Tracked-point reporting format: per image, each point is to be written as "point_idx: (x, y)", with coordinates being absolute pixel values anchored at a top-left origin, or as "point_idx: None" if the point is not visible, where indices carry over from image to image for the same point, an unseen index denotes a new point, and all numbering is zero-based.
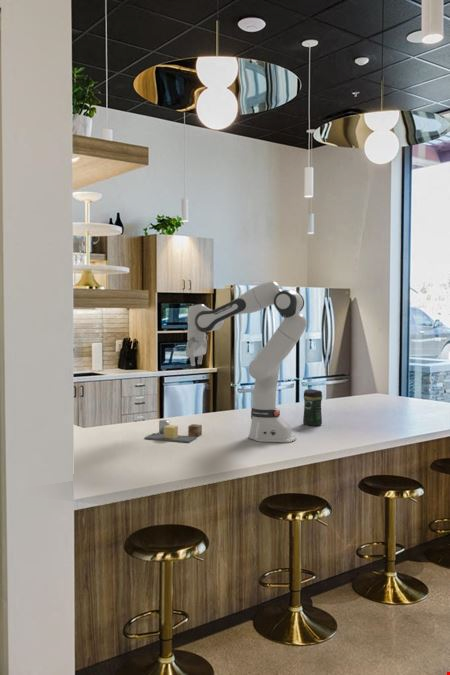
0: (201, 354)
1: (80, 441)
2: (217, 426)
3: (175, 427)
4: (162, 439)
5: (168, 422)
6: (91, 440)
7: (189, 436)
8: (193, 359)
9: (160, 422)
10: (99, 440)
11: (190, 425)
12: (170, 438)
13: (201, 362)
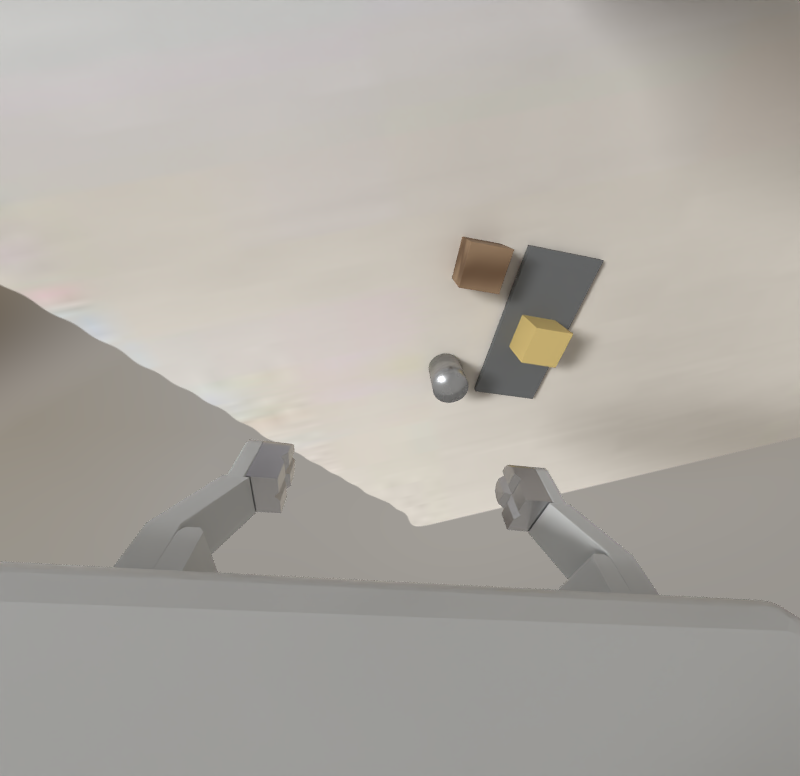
0: (291, 593)
1: None
2: (275, 194)
3: (556, 330)
4: None
5: (458, 372)
6: None
7: (524, 274)
8: (623, 554)
9: (463, 394)
10: None
11: (487, 288)
12: None
13: (252, 452)
